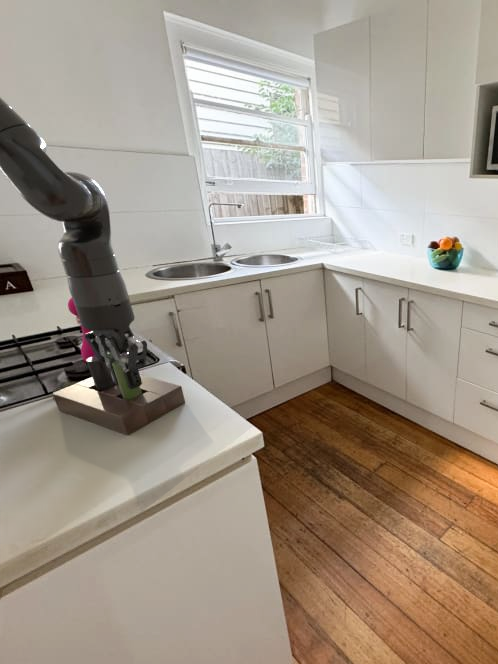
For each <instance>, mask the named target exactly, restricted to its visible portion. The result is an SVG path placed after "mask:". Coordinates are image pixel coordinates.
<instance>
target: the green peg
mask: <svg viewBox="0 0 498 664" xmlns="http://www.w3.org/2000/svg"><path fill="white" fill-rule="evenodd" d="M126 362H127V365H128V359H126ZM112 365H113V369H114V372H115V375H116V378H117V381H118V384H119V387H120V390H121V393H122V396H123V399H124V400H127V401H130V400H132V399H134V398H136V397H138V396H140V395H142V392H141V388H140V386H139V387H137V388H135V389H130V388H128V385H127V382H126V379H125V376H124V373H123V372H124V371H123V369H122V367H121V365H120V362H119V361H114V362H113V363H112Z"/></svg>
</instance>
